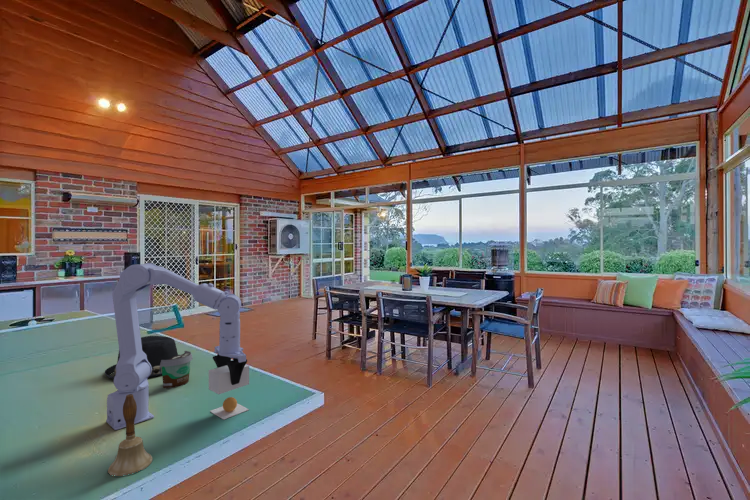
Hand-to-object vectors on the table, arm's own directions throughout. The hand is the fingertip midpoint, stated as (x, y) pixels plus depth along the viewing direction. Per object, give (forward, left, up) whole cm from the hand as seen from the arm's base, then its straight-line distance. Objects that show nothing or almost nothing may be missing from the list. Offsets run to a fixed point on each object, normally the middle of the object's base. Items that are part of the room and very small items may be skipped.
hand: (229, 381), depth 108 cm
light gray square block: (0, 0, -9) cm, 9 cm away
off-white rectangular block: (0, 0, -2) cm, 2 cm away
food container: (0, +33, -9) cm, 34 cm away
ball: (0, 0, -7) cm, 7 cm away
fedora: (-2, +58, -9) cm, 59 cm away
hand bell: (-28, -8, -9) cm, 31 cm away
